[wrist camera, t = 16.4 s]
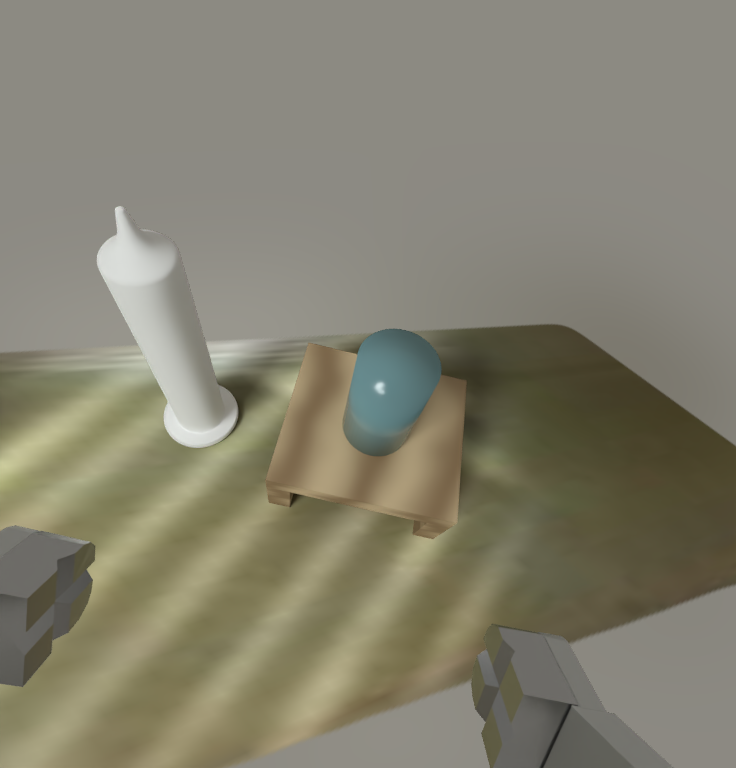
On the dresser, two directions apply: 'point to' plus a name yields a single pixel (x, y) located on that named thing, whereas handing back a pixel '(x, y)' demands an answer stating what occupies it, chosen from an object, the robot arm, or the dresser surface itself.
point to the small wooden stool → (361, 471)
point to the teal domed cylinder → (389, 390)
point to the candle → (167, 331)
